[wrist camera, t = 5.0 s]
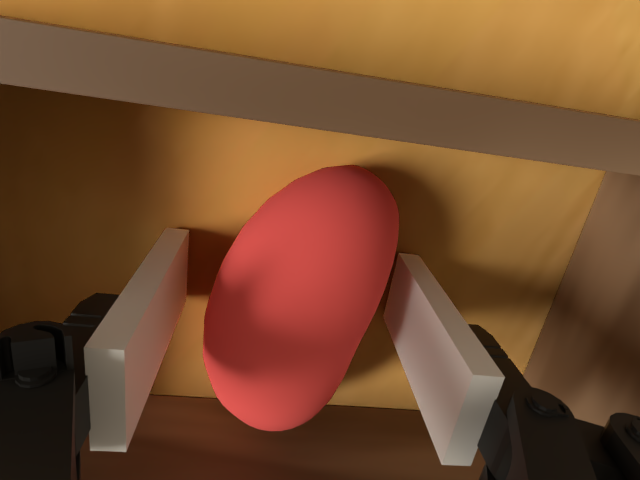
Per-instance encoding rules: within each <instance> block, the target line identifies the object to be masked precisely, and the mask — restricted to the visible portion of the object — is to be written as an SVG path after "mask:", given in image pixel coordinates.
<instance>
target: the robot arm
mask: <svg viewBox="0 0 640 480" xmlns="http://www.w3.org/2000/svg"><path fill="white" fill-rule="evenodd" d="M188 246H189V230H184V229H175V228H165V230H164V231H163V233H162V234H161V235H160V237H159V238H158V240H157V241H156V243H155V244H154V246H153V247H152V249H151V250H150V252H149V253H148V254H147V256H146V257H145V259H144V260H143V262H142V263H141V265H140V266H139V268H138V269H137V270H136V272H135V273H134V275H133V276H132V278H131V279H130V281H129V282H128V284H127V285H126V287H125V288H124V289H123V291H122V292H121V294H120V295H114V294H103V293H95V294H94V295H92V296H90V297H88V298H87V299H85V300H83V301H81V302H80V303H79V304H78V305H77V307H76V308H75V309H74V310H73V311H72V313H71V315H70V316H68V317H67V319H66V320H65V321H64V322H63V324H61V323H56V322H51V321H34V322H29V323H24V324H19V325H16V326H14V327H11V328H9V329H6V330H4V331H3V332H1V333H0V480H81V456H80V449H81V447H82V445H83V443H84V441H85V439H86V437H87V435H88V433H89V442H90V451H114V452H126V451H127V449H128V446H129V444H130V441H131V439H132V436H133V434H134V431H135V429H136V426H137V424H138V421H139V419H140V416H141V413H142V411H143V408H144V406H145V403H146V401H147V398H148V396H149V393H150V391H151V388H152V386H153V383H154V380H155V378H156V375H157V373H158V370H159V368H160V365H161V363H162V360H163V358H164V355H165V353H166V350H167V348H168V345H169V342H170V340H171V337H172V335H173V332H174V330H175V327H176V325H177V322H178V320H179V317H180V315H181V312H182V310H183V307H184V304H185V302H186V294H187V270H188ZM383 318H384V321H385V323H386V326H387V328H388V331H389V333H390V336H391V338H392V341H393V343H394V346H395V348H396V351H397V353H398V356H399V358H400V361H401V363H402V366H403V369H404V371H405V374H406V376H407V379H408V381H409V384H410V386H411V389H412V391H413V394H414V396H415V399H416V401H417V404H418V406H419V409H420V411H421V414H422V417H423V419H424V422H425V424H426V427H427V429H428V432H429V434H430V437H431V439H432V442H433V444H434V447H435V449H436V452H437V454H438V457H439V459H440V462H441V464H442V465H457V466H471V464H472V462H473V459H474V457H475V454H476V451H477V449H478V448H479V450H480V452H481V454H482V456H483V458H484V460H485V465H484V467H483V470H482V472H481V475H480V477H479V480H640V417H639V416H635V415H631V414H628V413H614V414H613V415H611V416H610V417H609V419H608V421H607V423H606V425H605V427H603V426H600V425H597V424H593V423H590V422H586V421H583V420H579V419H576V418H575V417H574V415H573V414H572V412H571V410H570V409H569V407H568V406H567V405H565V404H564V403H563V402H562V401H561V400H560V399H558V398H557V397H555V396H554V395H552V394H550V393H548V392H546V391H543V390H541V389H538V388H533V387H531V386H530V384H529V383H528V382H527V380H526V379H525V378H524V377H523V375H522V374H521V373H520V371H519V370H518V369H517V367H516V366H515V365H514V363H513V362H512V361H511V360H510V359H509V358H508V356H507V354H506V353H505V352H504V350H503V349H501V346H500V345H499V344H498V343H497V341H496V340H495V339H494V337H493V336H492V335H491V334H489V333H488V332H487V331H485V330H484V329H483V328H481V327H480V326H479V325H473V324H467V323H466V321H465V320H464V318H463V317H462V315H461V314H460V313H459V311H458V310H457V308H456V307H455V306H454V304H453V303H452V301H451V300H450V298H449V297H448V296H447V294H446V293H445V291H444V290H443V289H442V287H441V286H440V284H439V283H438V281H437V280H436V279H435V277H434V276H433V274H432V273H431V272H430V270H429V269H428V267H427V266H426V264H425V263H424V262H423V260H422V259H421V257H420V256H419V255H415V254H406V253H399V254H398V258H397V262H396V266H395V270H394V274H393V279H392V283H391V287H390V291H389V295H388V299H387V304H386V308H385V312H384V316H383Z"/></svg>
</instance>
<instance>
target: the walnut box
mask: <svg viewBox="0 0 640 480" xmlns="http://www.w3.org/2000/svg"><path fill="white" fill-rule="evenodd" d="M0 83H1V84H8V85H14V86H21V87H28V88H35V89H42V90H49V91H56V92H63V93H70V94H77V95H84V96H91V97H98V98H105V99H111V100H118V101H125V102H132V103H139V104H146V105H153V106H160V107H167V108H174V109H181V110H188V111H195V112H202V113H209V114H215V115H222V116H229V117H236V118H243V119H250V120H257V121H264V122H271V123H278V124H285V125H292V126H299V127H306V128H313V129H319V130H326V131H333V132H340V133H347V134H354V135H361V136H368V137H375V138H382V139H389V140H396V141H403V142H410V143H416V144H423V145H430V146H437V147H444V148H451V149H458V150H465V151H472V152H479V153H486V154H493V155H500V156H507V157H514V158H520V159H527V160H534V161H541V162H548V163H555V164H562V165H569V166H576V167H583V168H590V169H597V170H604V171H606V173H605V176H604V178H603V181H602V183H601V186H600V188H599V191H598V193H597V196H596V198H595V200H594V203H593V205H592V208H591V210H590V213H589V215H588V218H587V220H586V223H585V225H584V227H583V230H582V232H581V235H580V237H579V240H578V242H577V245H576V247H575V250H574V252H573V255H572V257H571V259H570V262H569V264H568V267H567V269H566V272H565V274H564V277H563V279H562V282H561V284H560V287H559V289H558V291H557V294H556V296H555V299H554V301H553V304H552V306H551V309H550V311H549V314H548V316H547V319H546V321H545V323H544V326H543V328H542V331H541V333H540V336H539V338H538V341H537V343H536V346H535V348H534V351H533V353H532V355H531V358H530V360H529V363H528V365H527V368H526V370H525V373H524V375H523V377H524V378H525V379H526V380H527V382H528V383H529V384H530V386H531V387H533V388H538V389H541V390H543V391H546V392H548V393H550V394H552V395H554V396H555V397H557V398H558V399H560V400H561V401H562V402H563V403H564V404H565V405H567V406H568V407H569V409H570V410H571V412H572V414H573V415H574V417H575V418H576V419H579V420H583V421H586V422H590V423H593V424H597V425H600V426H603V427H605V425H606V423H607V421H608V419H609V417H610V416H611V415H613V414H614V413H628V414H631V415H635V416H639V417H640V120H636V119H630V118H624V117H618V116H612V115H605V114H599V113H593V112H587V111H581V110H575V109H569V108H563V107H556V106H550V105H544V104H538V103H532V102H526V101H520V100H514V99H508V98H501V97H495V96H489V95H483V94H477V93H471V92H465V91H459V90H453V89H446V88H440V87H434V86H428V85H422V84H416V83H410V82H404V81H397V80H391V79H385V78H379V77H373V76H367V75H361V74H355V73H349V72H342V71H336V70H330V69H324V68H318V67H312V66H306V65H300V64H294V63H287V62H281V61H275V60H269V59H263V58H257V57H251V56H245V55H238V54H232V53H226V52H220V51H214V50H208V49H202V48H196V47H190V46H183V45H177V44H171V43H165V42H159V41H153V40H147V39H141V38H135V37H128V36H122V35H116V34H110V33H104V32H98V31H92V30H86V29H79V28H73V27H67V26H61V25H55V24H49V23H43V22H37V21H31V20H24V19H18V18H12V17H6V16H0ZM80 456H81V480H479V477H480V475H481V472H482V470H483V467H484V465H485V460H484V458H483V456H482V454H481V452H480V450H479V448H478V449H477V451H476V454H475V457H474V459H473V462H472V464H471V466H457V465H442V464H441V462H440V459H439V457H438V454H437V452H436V449H435V447H434V444H433V442H432V439H431V437H430V434H429V432H428V429H427V427H426V424H425V422H424V419H423V417H422V414H421V411H417V410H400V409H382V408H365V407H348V406H331V405H325V406H324V407H323V408H322V409H321V410H320V412H318V413H317V414H316V415H315V416H314V417H313V418H312V419H310V420H309V421H307V422H305V423H304V424H302V425H300V426H297V427H295V428H292V429H288V430H283V431H265V430H259V429H257V428H254V427H251V426H249V425H247V424H246V423H244V422H243V421H241V420H240V419H238V418H237V417H236V416H234V415H233V414H232V413H231V412H230V411H229V410H227V409H226V408H225V407H224V406H223V405H222V403H221V402H220V401H219V399H211V398H194V397H177V396H160V395H149V396H148V398H147V401H146V403H145V406H144V408H143V411H142V413H141V416H140V419H139V421H138V424H137V426H136V429H135V431H134V434H133V436H132V439H131V441H130V444H129V446H128V449H127V451H126V452H114V451H90V442H89V433H88V435H87V437H86V439H85V441H84V443H83V445H82V447H81V449H80Z"/></svg>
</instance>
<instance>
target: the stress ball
mask: <svg viewBox="0 0 640 480" xmlns="http://www.w3.org/2000/svg"><path fill="white" fill-rule="evenodd" d="M398 233H399V211H398V207H397V204H396V201H395V199H394V197H393V195H392V194H391V192H390V191H389V189H388V187H387V186H386V185H385V184H384V183H383V182H382V181H381V180H380V179H379V178H378V177H377V176H376V175H374V174H373V173H372V172H370V171H368V170H366V169H365V168H362V167H359V166H355V165H344V166H334V167H326V168H322V169H320V170H317V171H315V172H312V173H310V174H308V175H305V176H303V177H301V178H298V179H296V180H294V181H293V182H291V183H290V184H289V185H287V186H286V187H285V188H283V189H282V190H280V191H279V192H278V193H276V194H275V195H273V196H272V197H271V198H269V199H268V200H267V201H266V202H265V203H264V204H263V205H262V206H261V207H260V209H259V210H258V211H257V212H256V213H255V214H254V215H253V216H252V217H251V218H250V220H249V221H248V222H247V223H246V224H245V225H244V226H243V227H242V229H241V231H240V233H239V234H238V236H237V238H236V239H235V241H234V243H233V244H232V246H231V248H230V249H229V251H228V253H227V254H226V256H225V258H224V260H223V262H222V264H221V267H220V269H219V271H218V274H217V277H216V279H215V282H214V285H213V288H212V291H211V294H210V297H209V301H208V304H207V308H206V313H205V319H204V340H203V358H204V363H205V367H206V370H207V373H208V376H209V379H210V382H211V385H212V387H213V390H214V392H215V394H216V396H217V398H218V399H219V401H220V402H221V403H222V405H223V406H224V407H225V408H226V409H227V410H229V411H230V412H231V413H232V414H233V415H234V416H236V417H237V418H238V419H240V420H241V421H243V422H244V423H246V424H247V425H249V426H251V427H254V428H257V429H259V430H265V431H283V430H288V429H292V428H295V427H297V426H300V425H302V424H304V423H305V422H307V421H309V420H310V419H312V418H313V417H314V416H315V415H316V414H317V413H318V412H320V410H321V409H322V408H323V407H324V406H325V405H326V404H327V403H328V402H329V400H330V399H331V398H332V396H333V395H334V393H335V391H336V389H337V388H338V386H339V385H340V383H341V381H342V380H343V378H344V376H345V374H346V372H347V369H348V367H349V365H350V363H351V360H352V358H353V356H354V354H355V352H356V349H357V347H358V345H359V343H360V341H361V339H362V338H363V336H364V334H365V332H366V330H367V328H368V326H369V324H370V322H371V320H372V318H373V316H374V314H375V312H376V310H377V307H378V305H379V302H380V300H381V297H382V295H383V293H384V290H385V287H386V284H387V281H388V278H389V275H390V272H391V268H392V265H393V262H394V257H395V252H396V248H397V243H398Z"/></svg>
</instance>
